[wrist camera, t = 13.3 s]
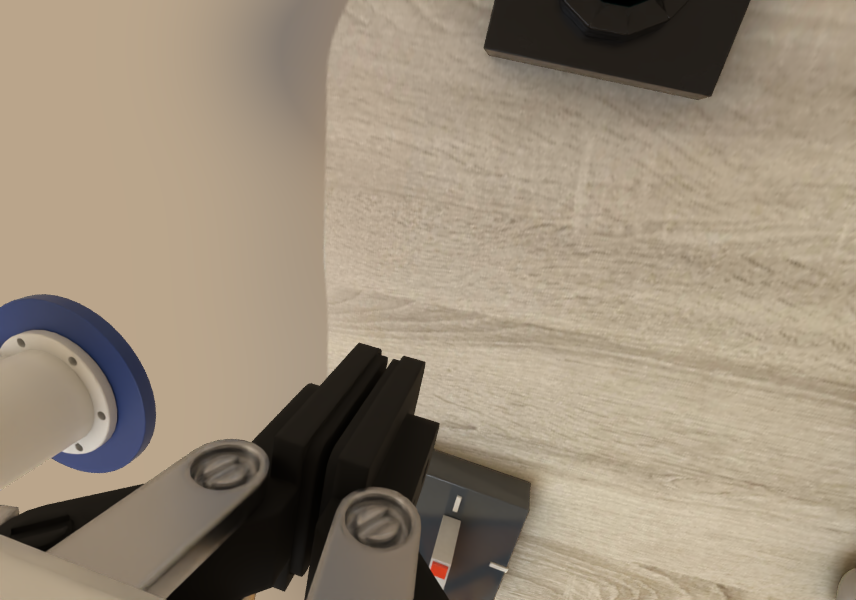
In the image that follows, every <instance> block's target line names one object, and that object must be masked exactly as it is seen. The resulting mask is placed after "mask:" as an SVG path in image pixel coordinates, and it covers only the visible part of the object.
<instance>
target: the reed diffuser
mask: <svg viewBox="0 0 856 600" xmlns="http://www.w3.org/2000/svg"><path fill="white" fill-rule="evenodd" d="M835 600H856V568H854V569H852V570H850V571H848V572H847V573H846V574H844V575H843V577H842V579H841V581H840V583H839V585H838V589H837V594H836V599H835Z"/></svg>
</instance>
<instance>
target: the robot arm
mask: <svg viewBox="0 0 856 600" xmlns="http://www.w3.org/2000/svg"><path fill="white" fill-rule="evenodd" d="M381 354H382V351H381V349H379V348H376V347H372V346H369V345H366V344H362V343H358V344H357V345H356V346H355V348H354V349H353V350H352V351H351V352H350V353H349V354H348V355H347V356H346V358H345V359H344V360H343V361H342V362H341V363H340V364H339V365H338V366H337V367H336V369H335V370H334V371H333V372H332V373H331V374H330V375H329V376H328V377H327V379H326V380H325V381H324V382H323V383H322V384H321V385H320V386H318V385H315V384H312V383H311V384H308V385H306V386H305V387H304V388H303V389H302V390H301V391H300V392H299V393H298V394H297V395H296V396H295V397H294V398H293V399H292V400H291V402H290V403H289V404H288V405H287V406H286V407H285V408H284V409H283V410H282V411H281V412H280V413H279V414H278V415H277V416H276V417H275V418H274V419H273V420H272V421H271V422H270V423H269V424H268V425H267V427H266V428H265V429H264V430H263V431H262V432H261V433H260V434H259V435H258V436H257V437H256V438H255V439H254V440H253V441H252V442H248V441H245V440H237V439H225V440H217V441H214V442H210V443H207V444H204V445H202V446H201V447H199V448H197V449H195V450H193V451H192V452H190V453H189V454H188V455H187V456H185V457H183V458H182V459H180V460H179V461H177V462H176V463H174V464H173V465H172V466H170V467H169V468H167V469H166V470H164V471H163V472H161V473H160V474H158V475H157V476H156V477H154V478H153V479H151V480H150V481H148V482H147V483H145V484H141V485H137V486H132V487H127V488H122V489H118V490H113V491H108V492H104V493H99V494H94V495H90V496H85V497H81V498H76V499H72V500H67V501H63V502H57V503H53V504H49V505H45V506H41V507H38V508H34V509H31V510H28V511H26V512H24V513H22V514H20V515H19V509H18V507H12V506H5V505H0V600H255V595H256V593H258V592H260V591H263V590H266V589H269V588H271V587H274V588H277V589H280V590H282V591H285V590H286V588H287V587H288V585H289V583H290V581H291V580H292V578H293V576H294V574H296V575H298V576H301V577H302V576H303V575H304V574H305V572H306V571H307V569H308V567H309V565H310V567H309V574H308V580H307V586H306V593H305V599H304V600H449V598H448V597H447V595H446V594H445V592H444V591H443V589H442V587H441V586H440V584H439V583H438V581H437V579H436V578H435V576H434V575H433V573H432V571H431V570H430V568H429V567H428V565H427V563H426V562H425V560H424V559H423V557H422V555H421V554H420V552H419V543H420V534H421V520H420V516H419V513H418V511H417V509H416V505H417V502H418V499H419V496H420V493H421V490H422V487H423V484H424V481H425V478H426V474H427V471H428V468H429V464H430V460H431V457H432V453H433V449H434V445H435V441H436V438H437V434H438V429H439V424H440V423H438V422H434V421H431V420H428V419H425V418H421V417H418V416H415V415H414V413H415V408H416V404H417V400H418V395H419V391H420V387H421V382H422V378H423V373H424V369H425V362H423V361H420V360H417V359H413V358H410V357H406V356H403V357H402V358H401V360H400V361H399V360H396V359H393V360H392V361H391V363H390V364H389V366H388V367H387V362H388V357H386V356H382V355H381ZM386 367H387V369H386ZM116 423H117V406H116V400H115V396H114V393H113V391H112V388H111V386H110V384H109V382H108V380H107V378H106V376H105V374H104V373H103V371H102V370H101V368H100V367H99V366H98V364H97V363H96V362H95V361H94V360H93V359H92V358H91V356H90V355H89V354H88V353H87V352H85V351H84V350H83V349H82V348H81V347H80V346H78V345H77V344H75V343H74V342H72V341H71V340H69V339H68V338H65V337H63V336H61V335H59V334H57V333H54V332H50V331H46V330H30V331H25V332H23V333H20V334H17V335H15V336H12V337H11V338H9V339H8V340H7V341H5V342H4V344H3V345H2V347H1V348H0V491H1V490H2V489H4V488H5V487H7V486H8V485H10V484H11V483H13V482H15V481H16V480H18V479H19V478H21V477H22V476H24V475H26V474H27V473H29V472H30V471H32V470H33V469H35V468H36V467H38V466H39V465H41V464H43V463H44V462H46V461H47V460H49V459H51V458H52V457H54V456H55V455H57V454H58V453H60V452H61V451H62V452H65V453H71V454H85V453H89V452H91V451H94V450H96V449H97V448H99V447H100V446H102V445H103V444H105V443H106V442H107V441H108V440H109V439H110V438H111V436H112V434H113V432H114V431H115V427H116Z"/></svg>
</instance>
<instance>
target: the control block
mask: <svg viewBox="0 0 856 600" xmlns="http://www.w3.org/2000/svg"><path fill="white" fill-rule="evenodd" d="M749 3H750V0H495V1H494V5H493V10H492V14H491V18H490V23H489V27H488V31H487V35H486V40H485V44H484V50H485V51H486V52H487V54H488V55H489V56H494V57H498V58H503V59H508V60H513V61H517V62H522V63H527V64H531V65H536V66H541V67H545V68H550V69H555V70H559V71H564V72H569V73H574V74H578V75H583V76H588V77H592V78H597V79H602V80H606V81H611V82H616V83H621V84H625V85H630V86H635V87H639V88H644V89H649V90H653V91H658V92H663V93H667V94H672V95H677V96H682V97H686V98H691V99H696V100H700V99H703V98H707V97H711V96H712V93H713V91H714V88H715V86H716V83H717V81H718V79H719V76H720V74H721V71H722V69H723V66H724V64H725V61H726V59H727V57H728V54H729V52H730V49H731V47H732V44H733V42H734V39H735V37H736V34H737V32H738V30H739V27H740V25H741V22H742V20H743V17H744V15H745V12H746V10H747V8H748V5H749Z"/></svg>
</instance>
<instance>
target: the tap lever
mask: <svg viewBox="0 0 856 600" xmlns="http://www.w3.org/2000/svg"><path fill="white" fill-rule="evenodd" d="M460 524H461V521H460V520H457V519H454V518H451V517H449V516H446V515H443V518H442V521H441V525H440V528H439V532H438V535H437V538H436V542H435V545H434V549H433V552H432V556H431V559H430V562H429V566H428V567H429V568H430V570H431V571H432V573H433V575H434V576H435V578H436V579H437V581H438V583H439V584H440V586H441V587H442V589H443V590H444V586H445V583H446V580H447V577H448V574H449V571H450V567H451V564H452V559H453V555H454V551H455V546H456V542H457V537H458V533H459V529H460Z"/></svg>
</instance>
